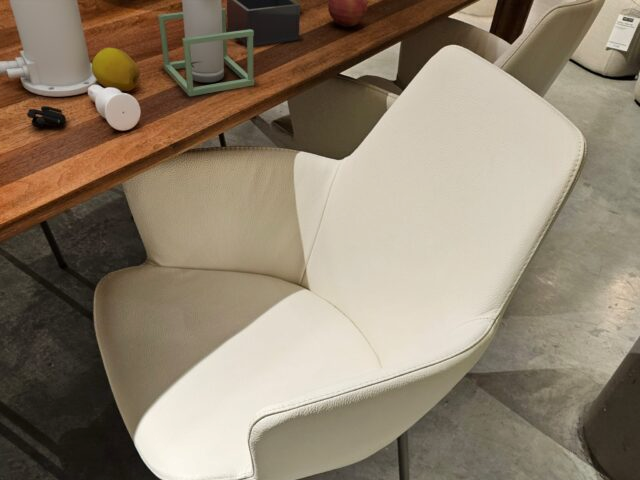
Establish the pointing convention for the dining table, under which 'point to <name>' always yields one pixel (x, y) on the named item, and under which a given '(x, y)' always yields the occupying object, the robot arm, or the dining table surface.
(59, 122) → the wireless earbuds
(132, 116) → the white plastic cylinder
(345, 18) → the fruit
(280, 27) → the dark grey storage box
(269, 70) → the dining table surface
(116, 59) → the lemon
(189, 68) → the rack
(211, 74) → the travel mug
